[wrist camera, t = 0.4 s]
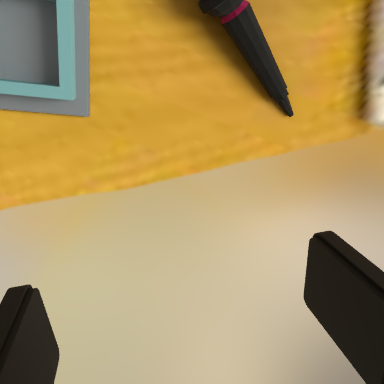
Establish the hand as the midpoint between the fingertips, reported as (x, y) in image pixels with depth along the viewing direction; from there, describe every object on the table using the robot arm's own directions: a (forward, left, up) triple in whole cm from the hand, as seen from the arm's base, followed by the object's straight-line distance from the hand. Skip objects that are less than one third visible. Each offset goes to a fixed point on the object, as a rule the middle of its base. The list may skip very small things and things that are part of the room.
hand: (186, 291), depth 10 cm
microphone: (-10, +12, -30) cm, 34 cm away
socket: (-8, -13, -30) cm, 33 cm away
